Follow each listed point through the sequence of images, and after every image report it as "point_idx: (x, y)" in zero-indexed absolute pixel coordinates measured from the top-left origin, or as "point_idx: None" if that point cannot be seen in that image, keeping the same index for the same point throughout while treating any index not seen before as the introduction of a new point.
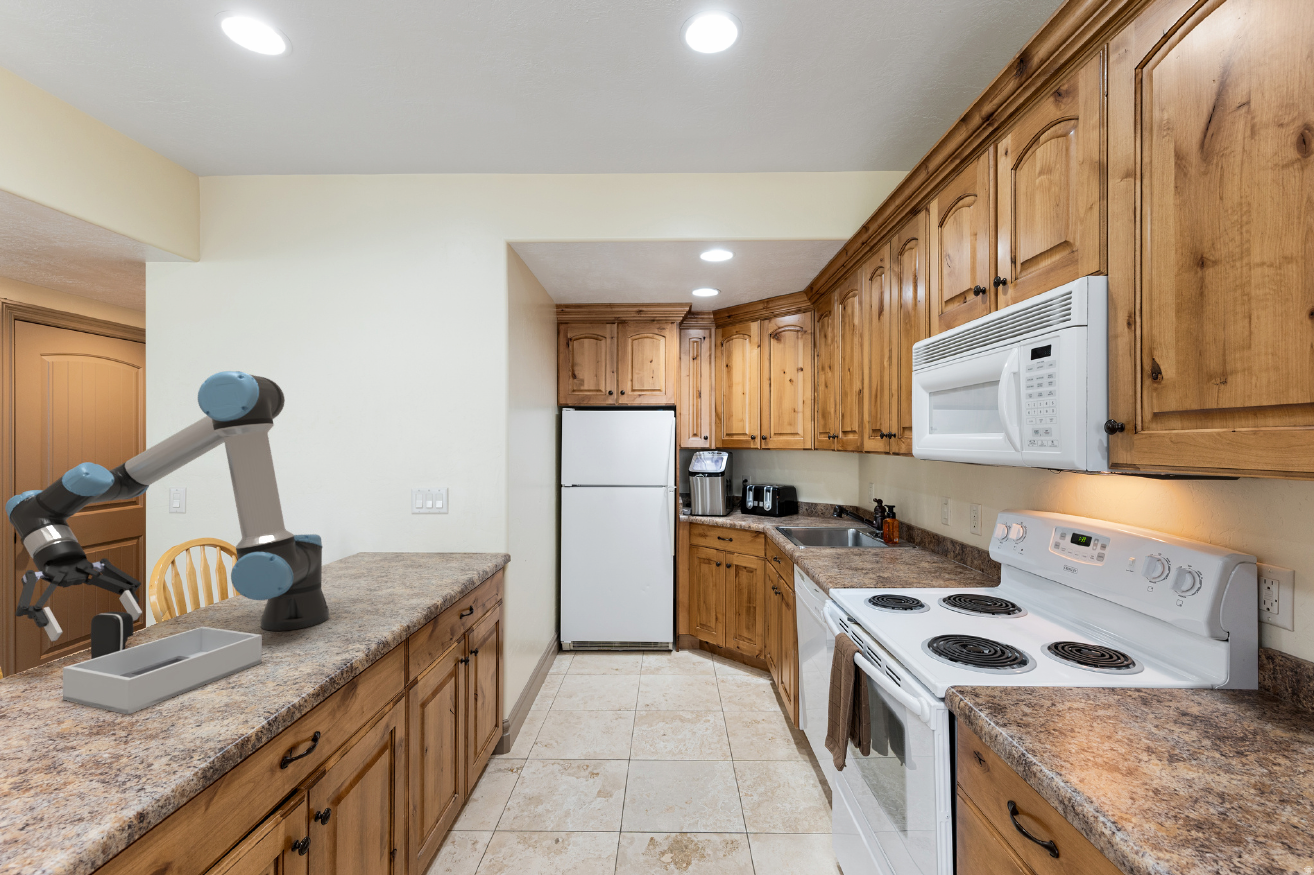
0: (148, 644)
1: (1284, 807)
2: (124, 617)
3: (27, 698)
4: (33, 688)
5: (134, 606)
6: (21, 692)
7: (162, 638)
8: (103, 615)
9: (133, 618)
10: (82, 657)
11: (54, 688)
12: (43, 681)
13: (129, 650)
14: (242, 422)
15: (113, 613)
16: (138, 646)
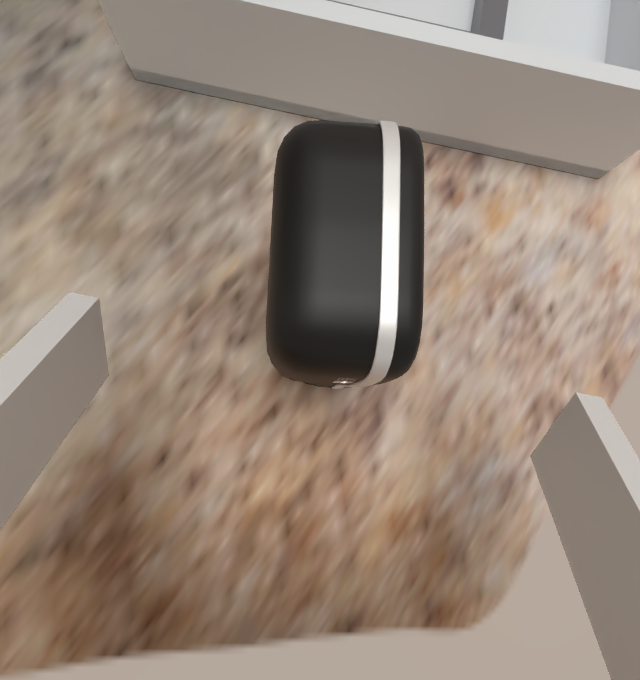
0: (375, 15)
1: None
2: (354, 122)
3: (612, 320)
4: (545, 402)
5: (57, 339)
6: None
7: (296, 9)
8: (417, 243)
9: (105, 360)
10: (233, 593)
11: (529, 320)
12: (487, 443)
13: (457, 36)
14: None
15: (361, 208)
16: (419, 23)
